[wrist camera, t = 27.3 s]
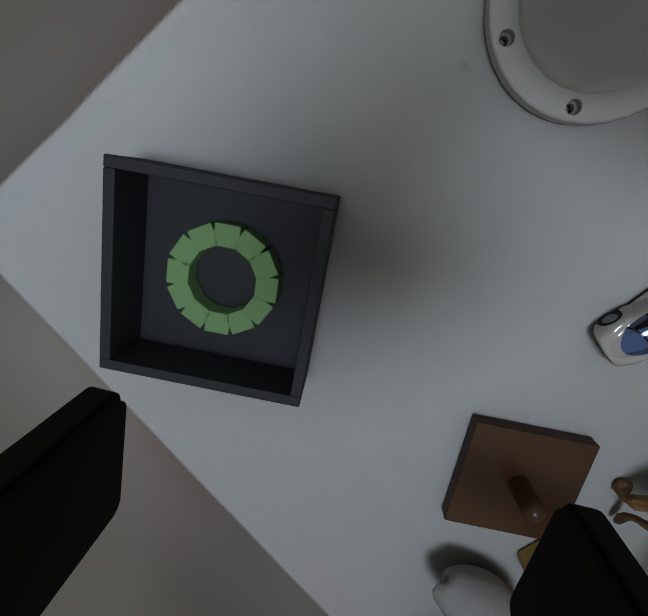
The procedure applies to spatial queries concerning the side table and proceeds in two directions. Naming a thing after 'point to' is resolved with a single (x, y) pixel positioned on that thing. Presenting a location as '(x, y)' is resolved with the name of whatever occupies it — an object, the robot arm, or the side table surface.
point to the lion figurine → (630, 503)
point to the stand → (516, 475)
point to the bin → (209, 277)
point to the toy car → (625, 333)
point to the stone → (472, 592)
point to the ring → (190, 292)
